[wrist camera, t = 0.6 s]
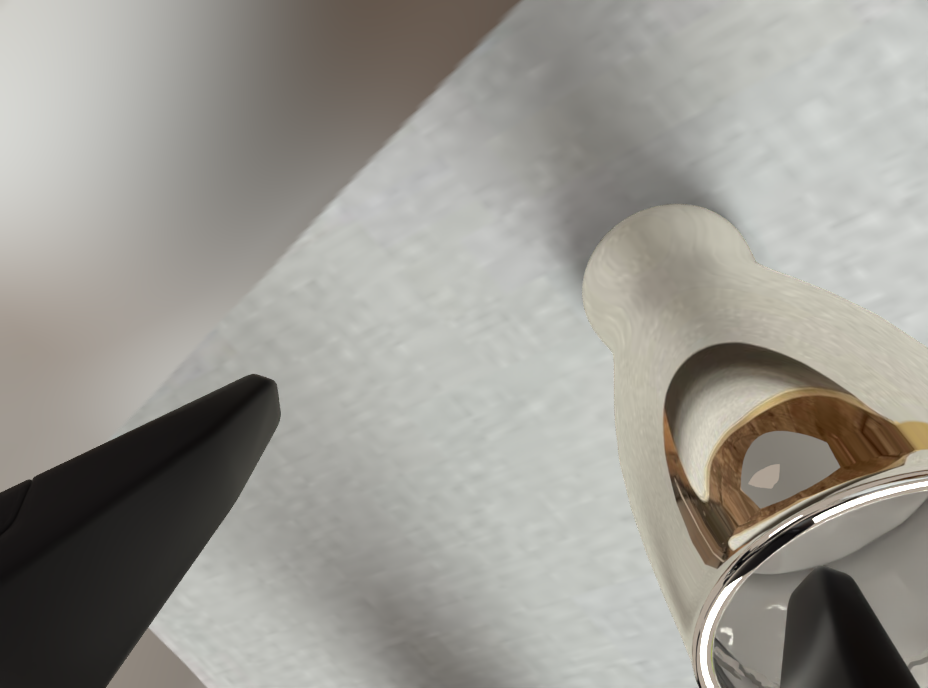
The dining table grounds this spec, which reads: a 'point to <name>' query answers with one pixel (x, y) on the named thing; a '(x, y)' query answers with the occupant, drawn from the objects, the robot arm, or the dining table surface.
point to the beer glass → (760, 439)
